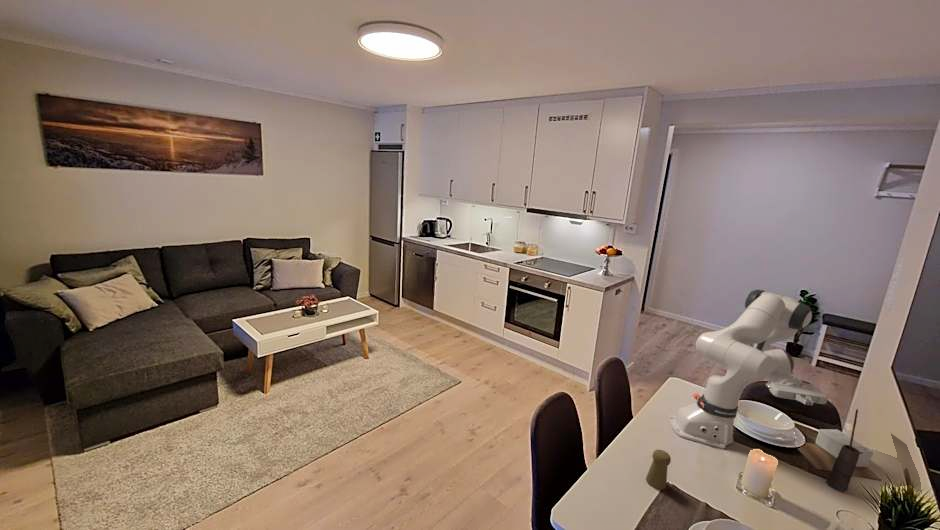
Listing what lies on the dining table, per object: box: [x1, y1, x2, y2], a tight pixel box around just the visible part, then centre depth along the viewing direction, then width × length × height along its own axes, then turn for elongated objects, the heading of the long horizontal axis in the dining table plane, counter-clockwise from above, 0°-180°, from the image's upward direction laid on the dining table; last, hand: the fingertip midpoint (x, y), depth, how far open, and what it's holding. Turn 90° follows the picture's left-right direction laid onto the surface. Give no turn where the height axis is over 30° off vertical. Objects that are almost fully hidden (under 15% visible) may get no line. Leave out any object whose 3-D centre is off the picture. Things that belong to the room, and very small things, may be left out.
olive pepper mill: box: [645, 449, 672, 491], centre depth 126 cm, size 6×6×11 cm
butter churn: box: [826, 408, 863, 493], centre depth 129 cm, size 9×10×28 cm
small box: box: [814, 428, 874, 468], centre depth 148 cm, size 8×6×13 cm
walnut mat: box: [797, 442, 882, 482], centre depth 146 cm, size 20×16×1 cm
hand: (809, 403), depth 164 cm, fingers closed
